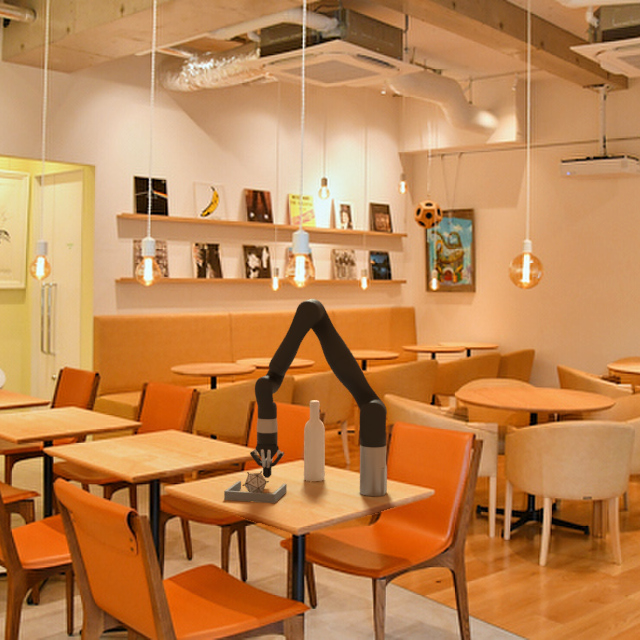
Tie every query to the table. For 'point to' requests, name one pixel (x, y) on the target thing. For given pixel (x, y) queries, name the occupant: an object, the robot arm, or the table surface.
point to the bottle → (314, 445)
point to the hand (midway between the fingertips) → (267, 477)
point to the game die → (255, 482)
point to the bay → (253, 494)
